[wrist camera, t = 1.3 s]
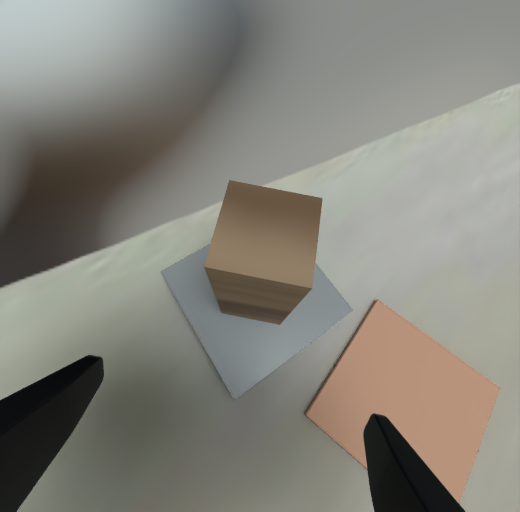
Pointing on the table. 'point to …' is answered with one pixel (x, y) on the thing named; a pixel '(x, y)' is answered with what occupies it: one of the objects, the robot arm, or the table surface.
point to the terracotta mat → (407, 396)
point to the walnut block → (263, 251)
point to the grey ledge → (250, 324)
